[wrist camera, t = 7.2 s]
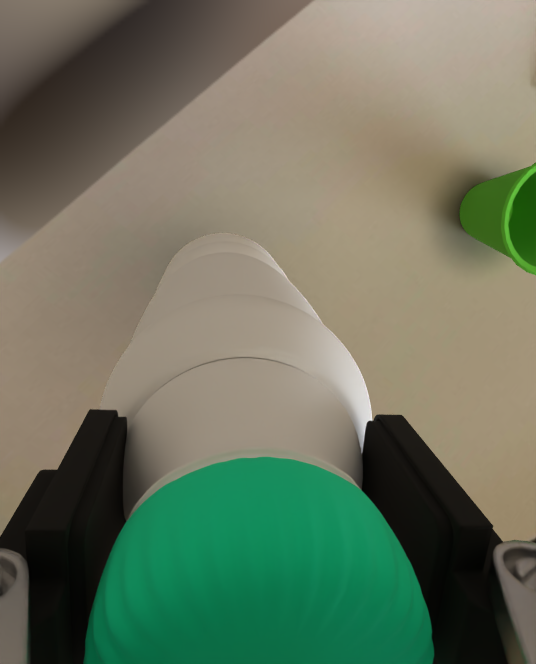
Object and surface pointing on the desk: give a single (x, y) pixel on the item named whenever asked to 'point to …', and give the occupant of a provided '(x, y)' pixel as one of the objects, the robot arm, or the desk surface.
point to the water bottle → (247, 484)
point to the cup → (505, 215)
